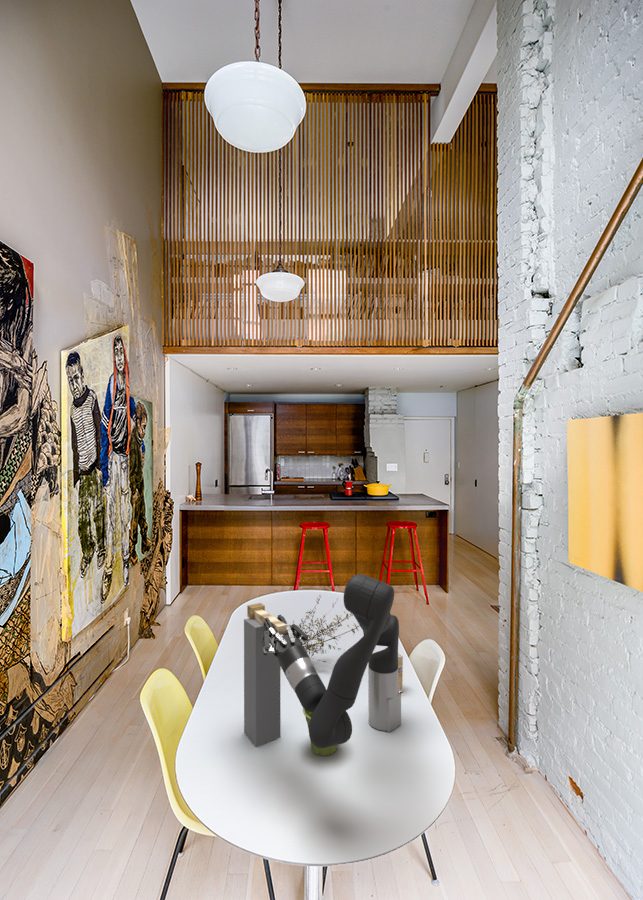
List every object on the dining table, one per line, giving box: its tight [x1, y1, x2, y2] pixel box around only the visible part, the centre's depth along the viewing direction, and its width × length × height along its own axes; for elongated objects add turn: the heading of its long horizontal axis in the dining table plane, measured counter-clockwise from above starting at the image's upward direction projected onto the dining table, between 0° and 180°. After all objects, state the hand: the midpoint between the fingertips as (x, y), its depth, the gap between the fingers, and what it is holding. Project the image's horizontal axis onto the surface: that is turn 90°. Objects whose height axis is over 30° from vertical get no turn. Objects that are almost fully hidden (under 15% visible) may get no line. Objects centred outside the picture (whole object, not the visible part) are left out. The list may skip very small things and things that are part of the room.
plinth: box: [243, 617, 281, 748], centre depth 136 cm, size 8×8×34 cm
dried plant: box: [282, 594, 360, 665], centre depth 182 cm, size 30×31×45 cm
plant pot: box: [302, 707, 338, 757], centre depth 130 cm, size 12×12×11 cm
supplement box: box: [398, 651, 404, 692], centre depth 161 cm, size 8×5×13 cm, turn 105°
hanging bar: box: [246, 602, 287, 636], centre depth 134 cm, size 18×4×3 cm, turn 34°
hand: (272, 618), depth 131 cm, fingers open, 3 cm apart
